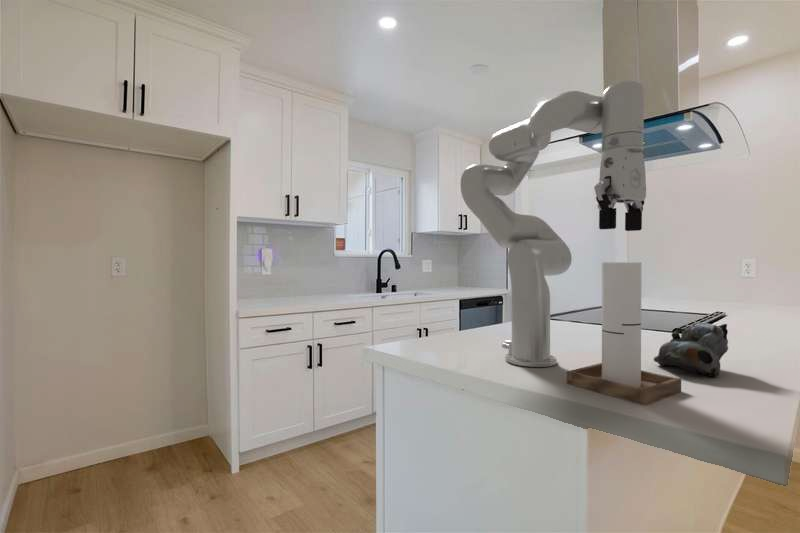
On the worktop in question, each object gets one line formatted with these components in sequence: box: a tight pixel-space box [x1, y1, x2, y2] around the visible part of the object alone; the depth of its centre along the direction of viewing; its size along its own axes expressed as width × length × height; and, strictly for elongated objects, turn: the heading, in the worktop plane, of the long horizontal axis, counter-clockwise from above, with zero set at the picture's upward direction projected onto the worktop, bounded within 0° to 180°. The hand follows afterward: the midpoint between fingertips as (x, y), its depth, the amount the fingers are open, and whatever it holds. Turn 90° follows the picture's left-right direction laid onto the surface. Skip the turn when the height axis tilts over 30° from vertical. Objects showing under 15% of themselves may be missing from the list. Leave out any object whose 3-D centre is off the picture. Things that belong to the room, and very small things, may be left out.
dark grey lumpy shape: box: [653, 322, 729, 378], centre depth 96 cm, size 15×12×14 cm
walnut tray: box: [566, 362, 682, 406], centre depth 84 cm, size 16×14×2 cm
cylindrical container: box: [601, 261, 642, 388], centre depth 84 cm, size 7×7×25 cm
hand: (620, 229), depth 84 cm, fingers open, 9 cm apart
